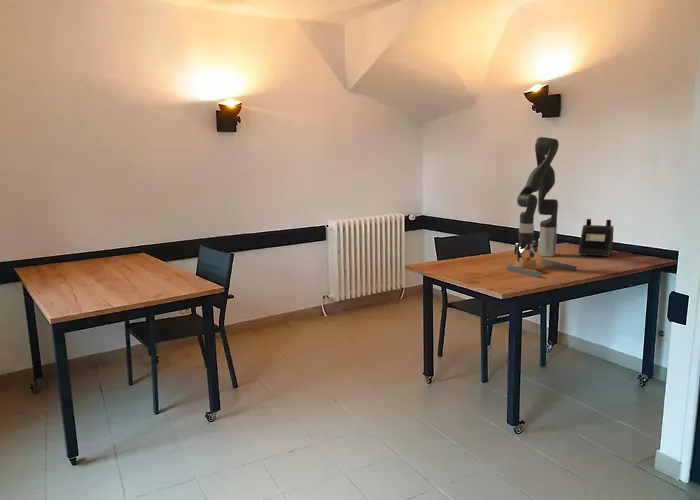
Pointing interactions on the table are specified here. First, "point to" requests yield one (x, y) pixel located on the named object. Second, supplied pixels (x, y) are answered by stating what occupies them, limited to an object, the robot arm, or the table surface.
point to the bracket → (526, 263)
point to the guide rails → (545, 262)
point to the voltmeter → (596, 239)
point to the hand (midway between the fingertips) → (525, 261)
